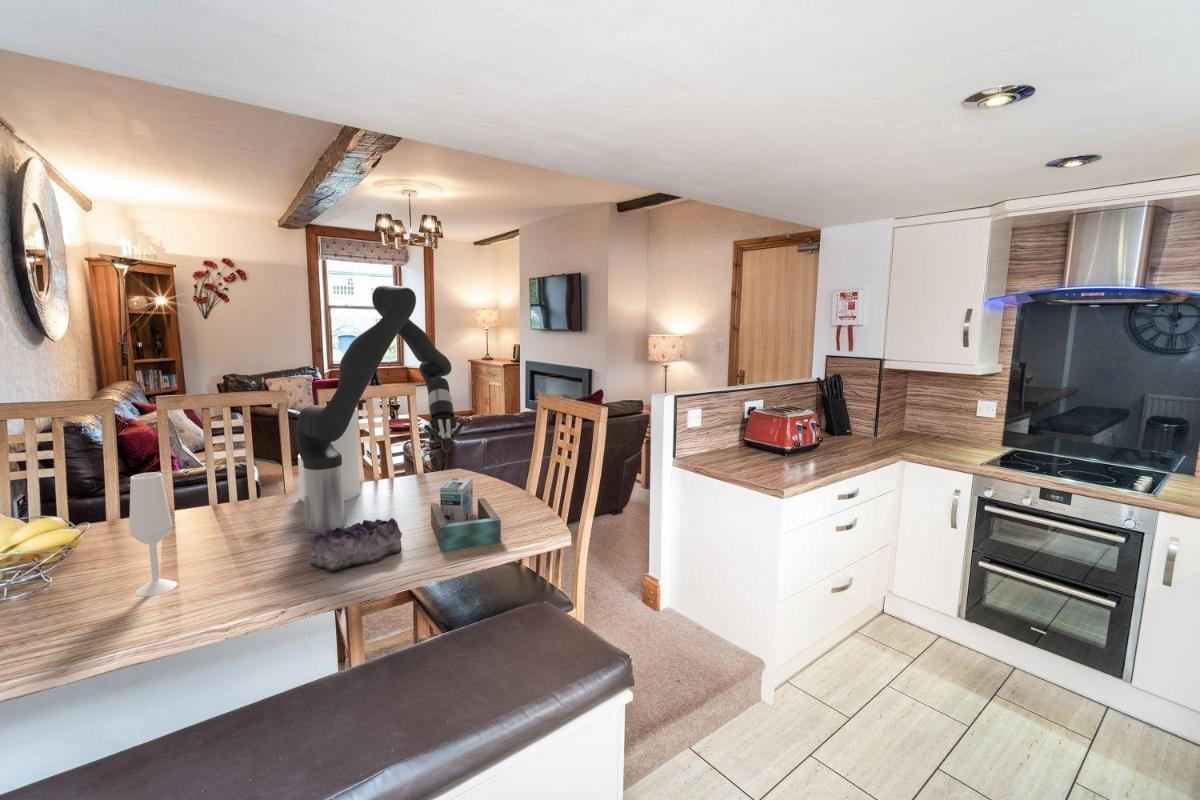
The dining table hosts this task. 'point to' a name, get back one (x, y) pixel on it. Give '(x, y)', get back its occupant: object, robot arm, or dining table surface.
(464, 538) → the channel
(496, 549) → the dining table surface
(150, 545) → the champagne flute
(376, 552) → the geode
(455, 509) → the light bulb box
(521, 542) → the dining table surface
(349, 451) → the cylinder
